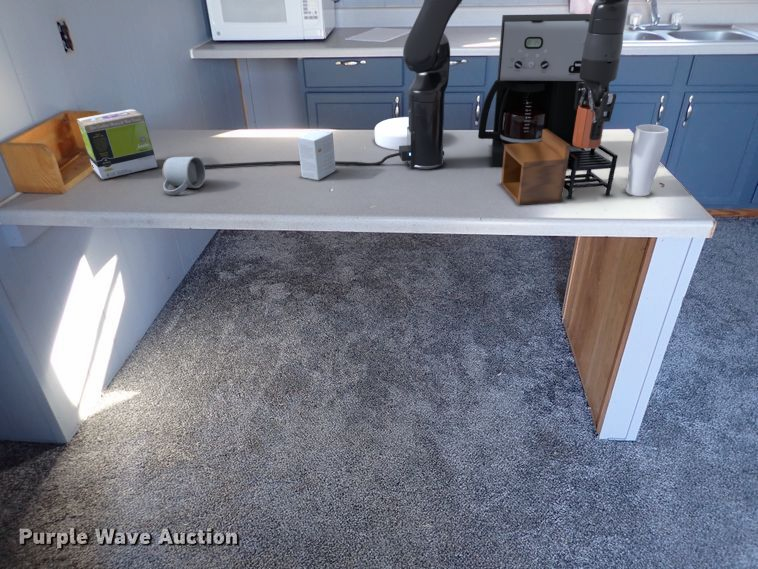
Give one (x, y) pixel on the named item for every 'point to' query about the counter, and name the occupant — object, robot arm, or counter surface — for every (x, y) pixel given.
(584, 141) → the cup
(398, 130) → the container
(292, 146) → the counter surface
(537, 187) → the wooden open box
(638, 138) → the drinking glass
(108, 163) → the tea box
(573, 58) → the coffee maker
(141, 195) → the counter surface
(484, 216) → the counter surface
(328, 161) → the small box
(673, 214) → the counter surface
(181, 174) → the ceramic mug
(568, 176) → the rack
